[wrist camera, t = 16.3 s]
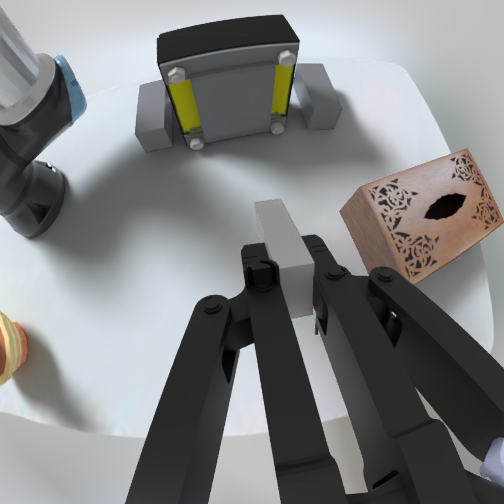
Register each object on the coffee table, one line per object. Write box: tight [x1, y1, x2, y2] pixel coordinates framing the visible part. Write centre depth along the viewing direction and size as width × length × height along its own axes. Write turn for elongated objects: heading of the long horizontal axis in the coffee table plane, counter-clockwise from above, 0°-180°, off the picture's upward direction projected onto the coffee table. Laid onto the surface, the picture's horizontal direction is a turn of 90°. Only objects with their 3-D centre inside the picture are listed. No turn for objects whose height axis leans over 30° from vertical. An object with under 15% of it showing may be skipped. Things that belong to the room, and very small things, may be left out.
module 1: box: [135, 80, 173, 152], centre depth 45 cm, size 5×12×6 cm, turn 8°
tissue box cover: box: [339, 149, 504, 285], centre depth 39 cm, size 26×14×10 cm, turn 113°
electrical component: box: [157, 15, 300, 150], centre depth 38 cm, size 18×10×20 cm, turn 103°
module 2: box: [293, 64, 342, 130], centre depth 46 cm, size 5×12×6 cm, turn 8°
